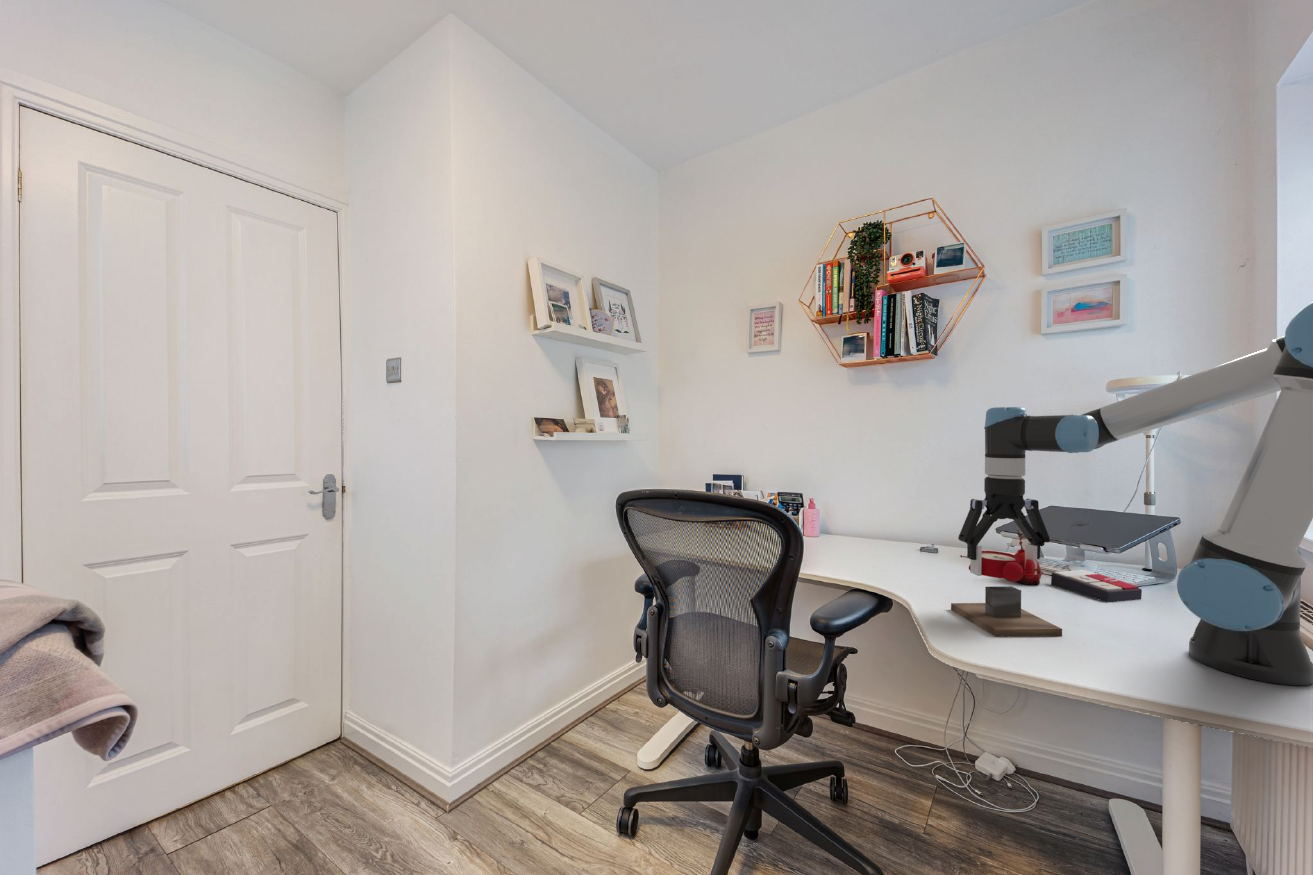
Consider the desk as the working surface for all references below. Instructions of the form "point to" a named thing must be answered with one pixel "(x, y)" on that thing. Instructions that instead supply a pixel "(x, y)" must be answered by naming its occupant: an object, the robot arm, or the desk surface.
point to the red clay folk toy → (1021, 555)
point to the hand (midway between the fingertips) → (1003, 573)
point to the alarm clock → (1005, 566)
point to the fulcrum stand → (1005, 614)
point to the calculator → (1096, 586)
